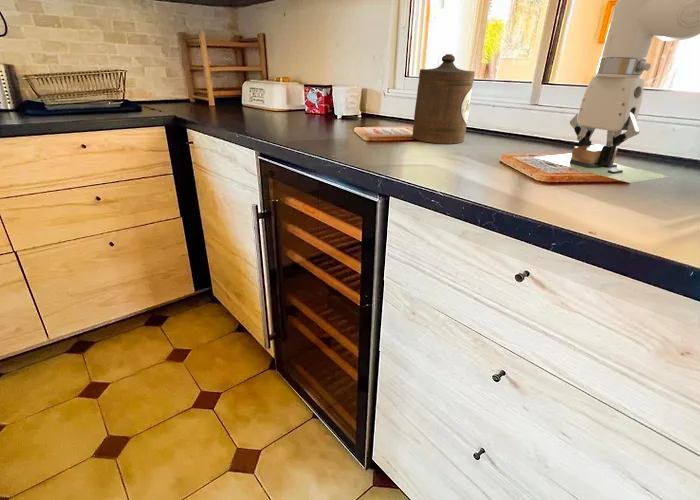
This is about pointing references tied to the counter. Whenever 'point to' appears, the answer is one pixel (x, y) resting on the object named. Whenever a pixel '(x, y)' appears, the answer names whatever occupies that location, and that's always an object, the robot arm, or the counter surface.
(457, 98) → the wooden container
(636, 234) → the counter surface
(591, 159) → the eraser
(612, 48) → the robot arm
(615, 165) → the ink stroke
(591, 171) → the board
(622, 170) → the ink stroke
